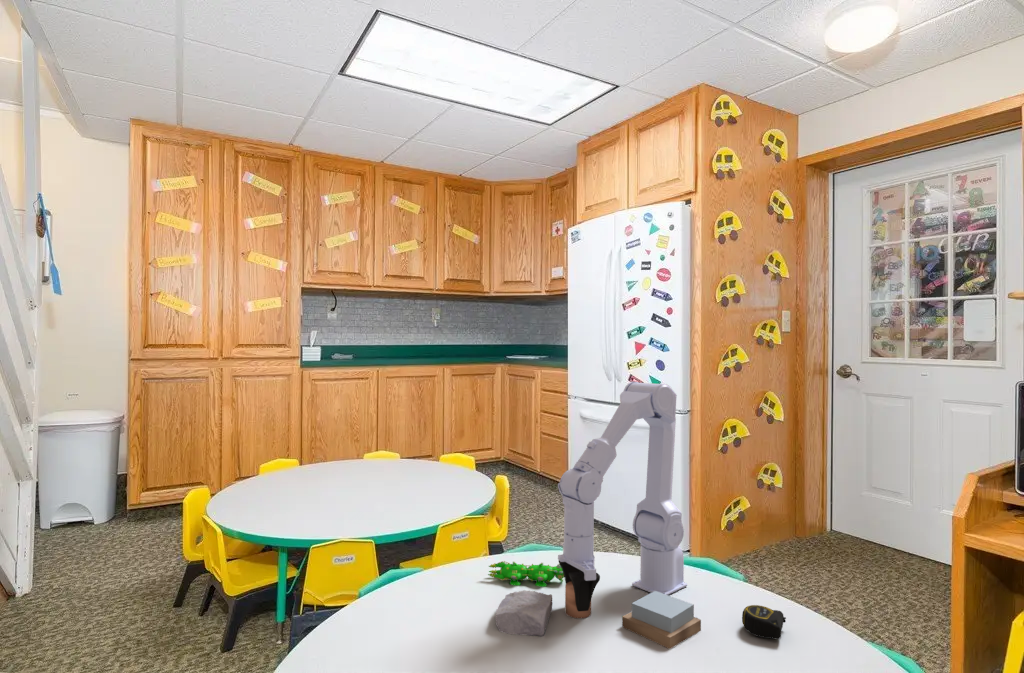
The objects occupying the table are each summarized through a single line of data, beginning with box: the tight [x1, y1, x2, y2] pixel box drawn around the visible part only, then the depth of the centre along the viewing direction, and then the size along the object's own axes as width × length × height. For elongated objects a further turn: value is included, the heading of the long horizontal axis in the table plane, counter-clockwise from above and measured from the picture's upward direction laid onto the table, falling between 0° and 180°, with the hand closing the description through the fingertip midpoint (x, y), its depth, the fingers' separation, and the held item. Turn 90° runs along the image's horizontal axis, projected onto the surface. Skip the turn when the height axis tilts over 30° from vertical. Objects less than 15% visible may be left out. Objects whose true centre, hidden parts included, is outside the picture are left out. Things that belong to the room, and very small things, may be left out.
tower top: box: [631, 591, 695, 633], centre depth 102 cm, size 8×8×2 cm
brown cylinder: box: [564, 581, 592, 619], centre depth 108 cm, size 5×5×5 cm
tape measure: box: [741, 604, 787, 640], centre depth 101 cm, size 7×7×4 cm
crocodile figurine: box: [487, 560, 565, 588], centre depth 122 cm, size 7×18×4 cm, turn 86°
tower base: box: [621, 611, 702, 650], centre depth 102 cm, size 10×10×2 cm
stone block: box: [495, 589, 553, 637], centre depth 105 cm, size 12×5×10 cm
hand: (578, 603), depth 108 cm, fingers closed on brown cylinder, 5 cm apart
